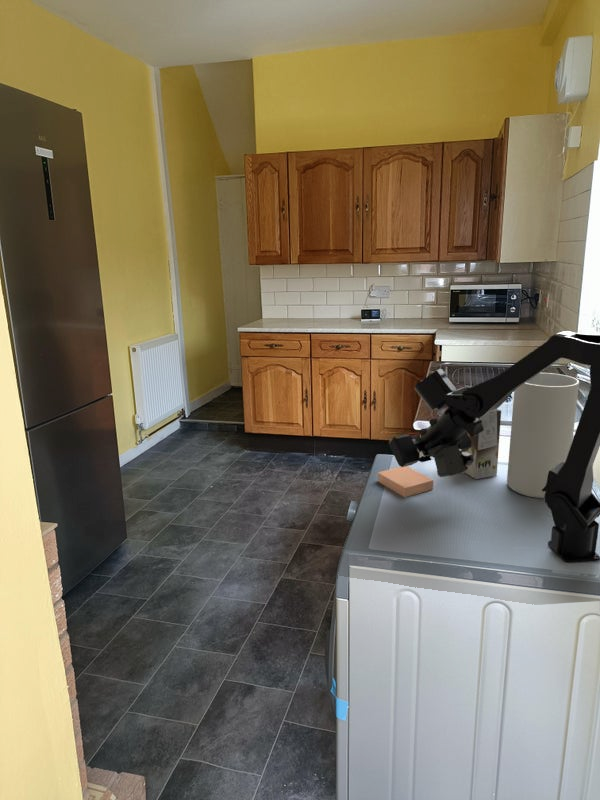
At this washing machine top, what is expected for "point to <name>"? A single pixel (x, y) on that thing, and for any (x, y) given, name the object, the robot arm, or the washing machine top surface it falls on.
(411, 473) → the block
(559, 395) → the cylinder vase
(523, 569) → the washing machine top surface
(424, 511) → the washing machine top surface
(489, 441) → the coffee box
